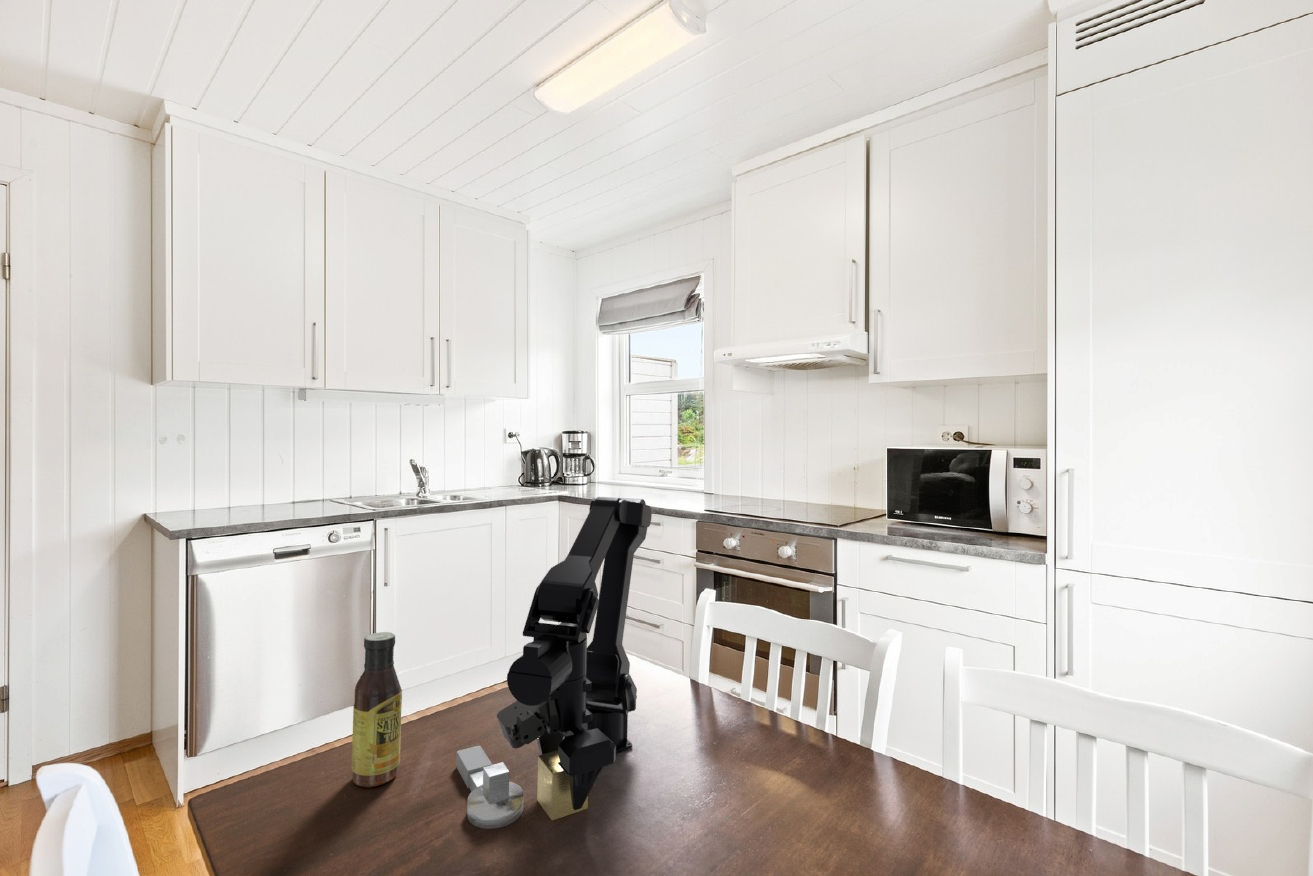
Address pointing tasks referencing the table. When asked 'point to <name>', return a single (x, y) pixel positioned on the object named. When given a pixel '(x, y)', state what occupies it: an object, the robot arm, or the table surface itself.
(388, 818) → the table surface
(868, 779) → the table surface
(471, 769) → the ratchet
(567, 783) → the wooden toy block
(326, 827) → the table surface
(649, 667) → the table surface
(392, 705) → the sauce bottle
